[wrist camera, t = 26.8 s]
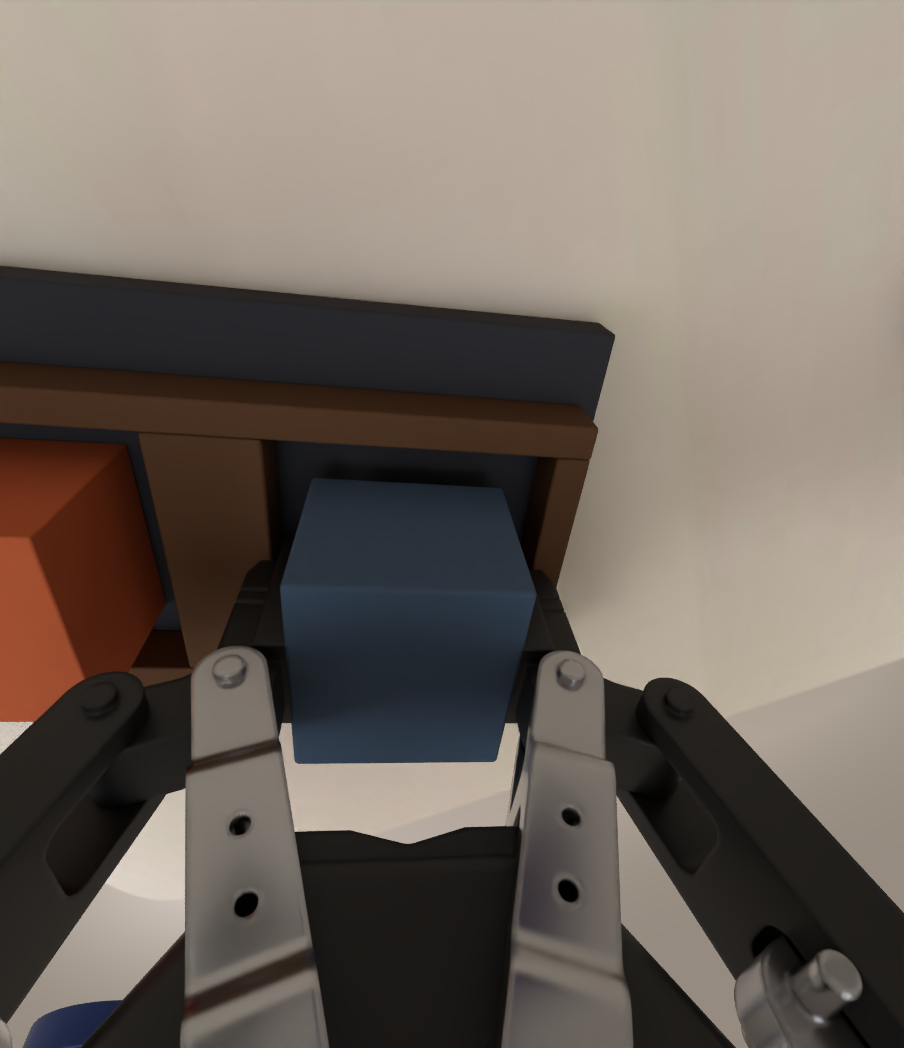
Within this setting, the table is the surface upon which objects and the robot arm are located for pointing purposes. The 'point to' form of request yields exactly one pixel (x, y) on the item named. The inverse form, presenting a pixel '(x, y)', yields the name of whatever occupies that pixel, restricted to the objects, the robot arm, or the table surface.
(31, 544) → the orange block
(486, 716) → the blue block
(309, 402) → the brown wooden tray
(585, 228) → the table surface
